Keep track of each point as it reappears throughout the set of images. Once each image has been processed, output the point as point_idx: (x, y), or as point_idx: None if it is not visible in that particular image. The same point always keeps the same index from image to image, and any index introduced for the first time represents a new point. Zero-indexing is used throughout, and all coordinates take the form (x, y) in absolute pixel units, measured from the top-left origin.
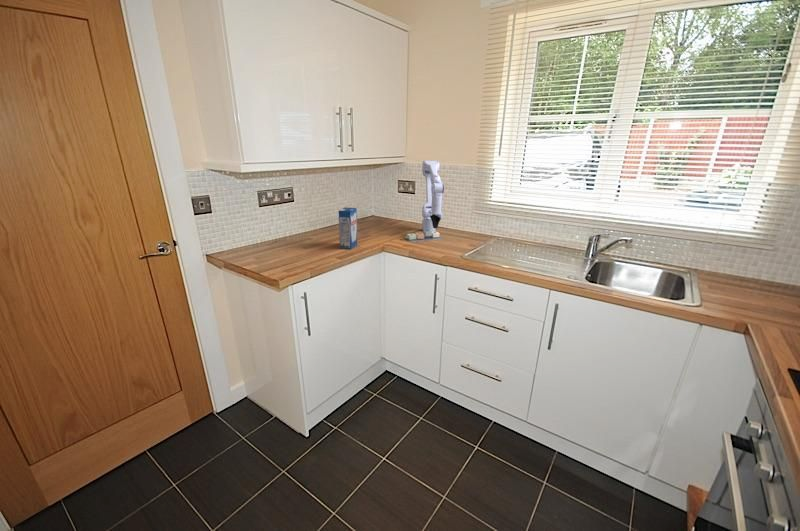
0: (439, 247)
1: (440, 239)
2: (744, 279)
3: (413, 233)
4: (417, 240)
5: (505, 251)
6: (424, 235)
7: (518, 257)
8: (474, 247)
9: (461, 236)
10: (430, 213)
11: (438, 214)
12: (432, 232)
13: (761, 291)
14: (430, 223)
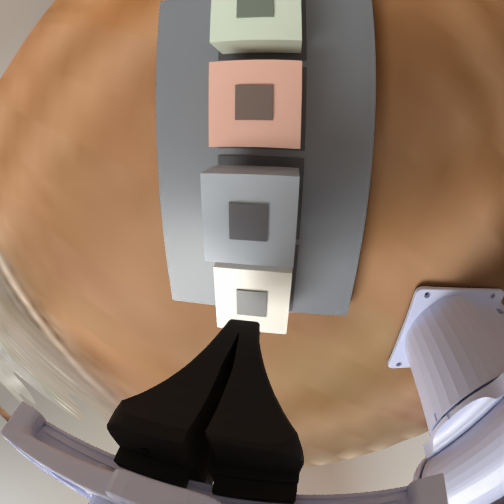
0: (60, 187)
1: (174, 279)
2: None
3: (296, 40)
4: (197, 60)
5: (48, 380)
6: (354, 221)
7: (13, 360)
8: (69, 346)
9: None
10: (121, 482)
11: (29, 451)
12: (262, 282)
13: (3, 415)
14: (442, 378)
